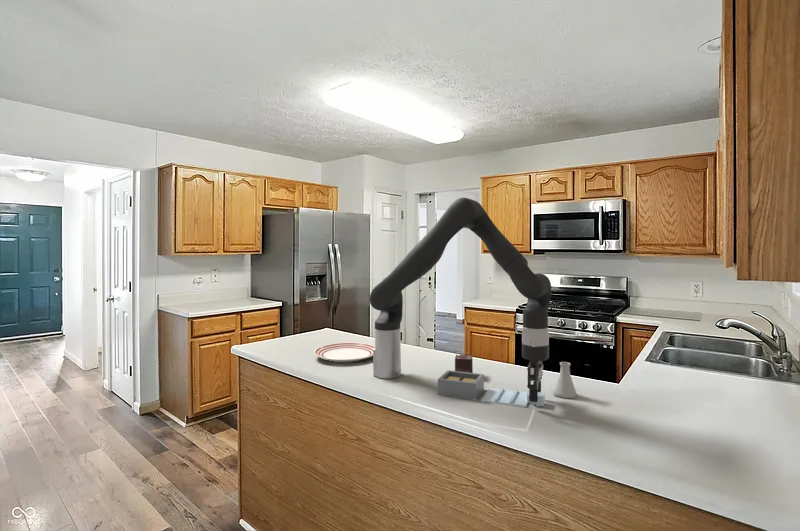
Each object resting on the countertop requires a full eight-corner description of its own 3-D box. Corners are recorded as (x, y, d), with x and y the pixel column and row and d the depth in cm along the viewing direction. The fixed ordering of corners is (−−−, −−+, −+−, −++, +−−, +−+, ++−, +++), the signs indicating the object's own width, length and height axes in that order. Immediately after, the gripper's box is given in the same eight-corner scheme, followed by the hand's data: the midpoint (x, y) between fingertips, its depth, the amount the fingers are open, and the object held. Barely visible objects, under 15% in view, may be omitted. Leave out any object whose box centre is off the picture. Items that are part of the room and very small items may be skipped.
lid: (481, 403, 128) (480, 393, 128) (489, 391, 138) (489, 382, 138) (541, 411, 121) (541, 401, 121) (545, 398, 131) (545, 388, 131)
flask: (575, 400, 129) (575, 367, 129) (550, 396, 133) (550, 364, 132) (579, 393, 135) (579, 361, 135) (555, 389, 139) (555, 358, 139)
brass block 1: (445, 392, 137) (445, 379, 136) (449, 388, 140) (449, 376, 140) (457, 393, 135) (457, 381, 135) (461, 389, 139) (461, 377, 138)
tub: (438, 396, 134) (437, 379, 134) (448, 386, 144) (447, 370, 143) (475, 401, 130) (475, 383, 129) (483, 391, 139) (483, 374, 138)
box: (472, 380, 150) (472, 359, 150) (454, 379, 151) (454, 358, 151) (472, 374, 156) (472, 354, 156) (456, 374, 157) (455, 354, 157)
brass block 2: (461, 394, 134) (461, 381, 134) (464, 390, 138) (464, 377, 138) (473, 395, 133) (473, 383, 133) (477, 391, 136) (477, 379, 136)
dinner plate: (392, 355, 185) (392, 348, 185) (343, 370, 165) (343, 361, 165) (349, 346, 203) (349, 339, 203) (300, 358, 183) (300, 350, 183)
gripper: (525, 336, 134) (525, 387, 135) (518, 346, 121) (518, 403, 122) (551, 338, 131) (551, 390, 132) (546, 348, 118) (546, 407, 119)
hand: (535, 396), depth 127 cm, fingers open, 8 cm apart
